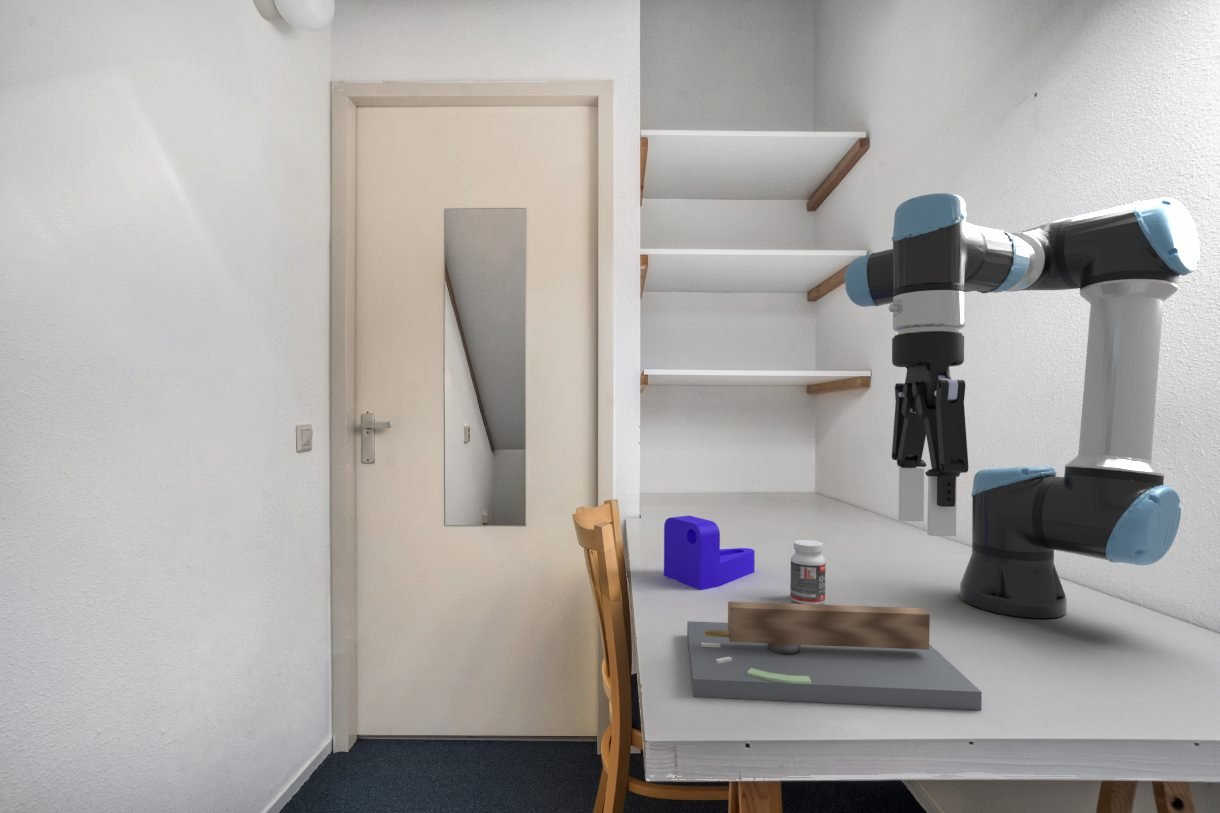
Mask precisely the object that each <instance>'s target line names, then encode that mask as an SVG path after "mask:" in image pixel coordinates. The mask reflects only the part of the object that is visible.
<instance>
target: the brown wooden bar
mask: <svg viewBox="0 0 1220 813" xmlns="http://www.w3.org/2000/svg"><path fill="white" fill-rule="evenodd" d="M930 615H931V614H930V613H928V612H927V611H926V610H925V609H924V608H922V607H903V606H901V607H898V606H896V607H895V606H867V605H845V604H844V605H840V604H838V605H837V604H834V605H833V604H820V605H814V604H799V603H779V602H778V603H777V602H753V601H752V602H751V601H750V602H748V601H747V602H746V601H727V623H728V630H706V629H705V636H710V637H729V641H730V642H744V643H768V649H769V650H771V651H773V652H775V653H779V654H787V655H790V654H796V653H798V652H800V645H821V646H847V647H872V648H898V649H923V650H929V644H930V629H931V628H930V623H931V622H930V620H931V619H930V618H931V616H930Z"/></svg>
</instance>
